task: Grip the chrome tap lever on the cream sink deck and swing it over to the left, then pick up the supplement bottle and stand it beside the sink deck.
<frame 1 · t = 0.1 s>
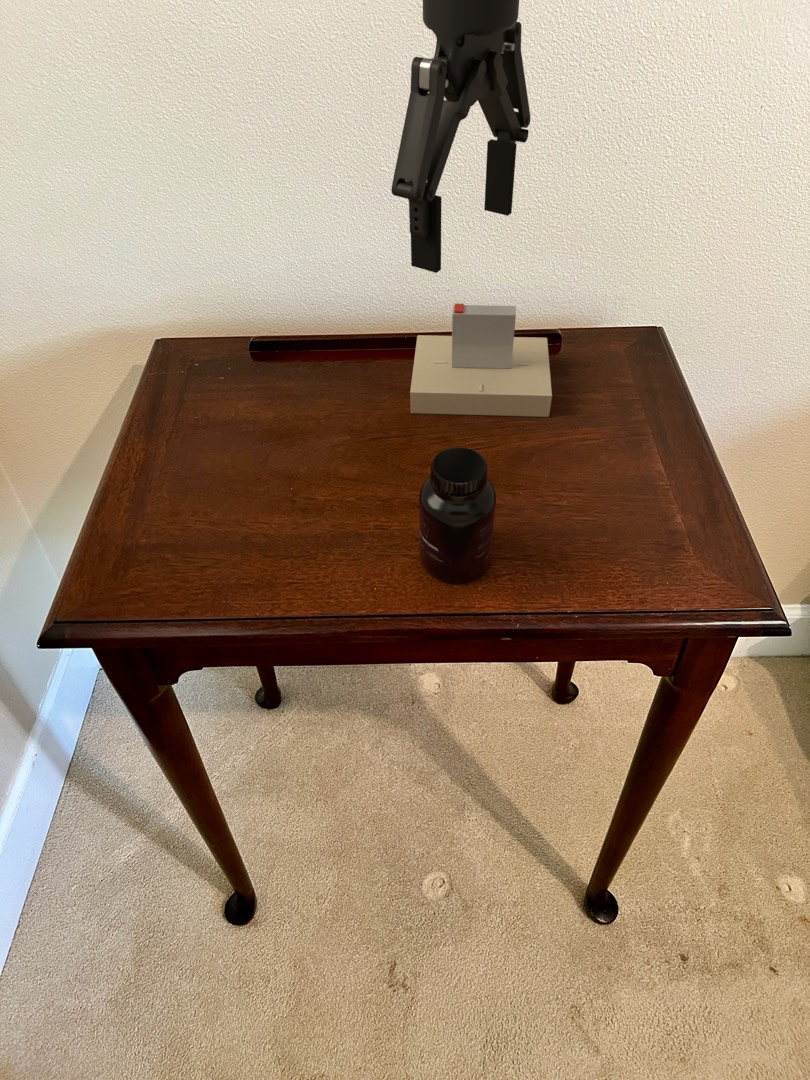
hand: (463, 238, 73), 21 cm above the table, tool pointing down, fingers open, 13 cm apart
supplement bottle: (455, 560, 73), on the table
tap lever: (482, 336, 87), point 7 cm above the table, hinge at 0.0°
sink deck: (480, 384, 92), on the table
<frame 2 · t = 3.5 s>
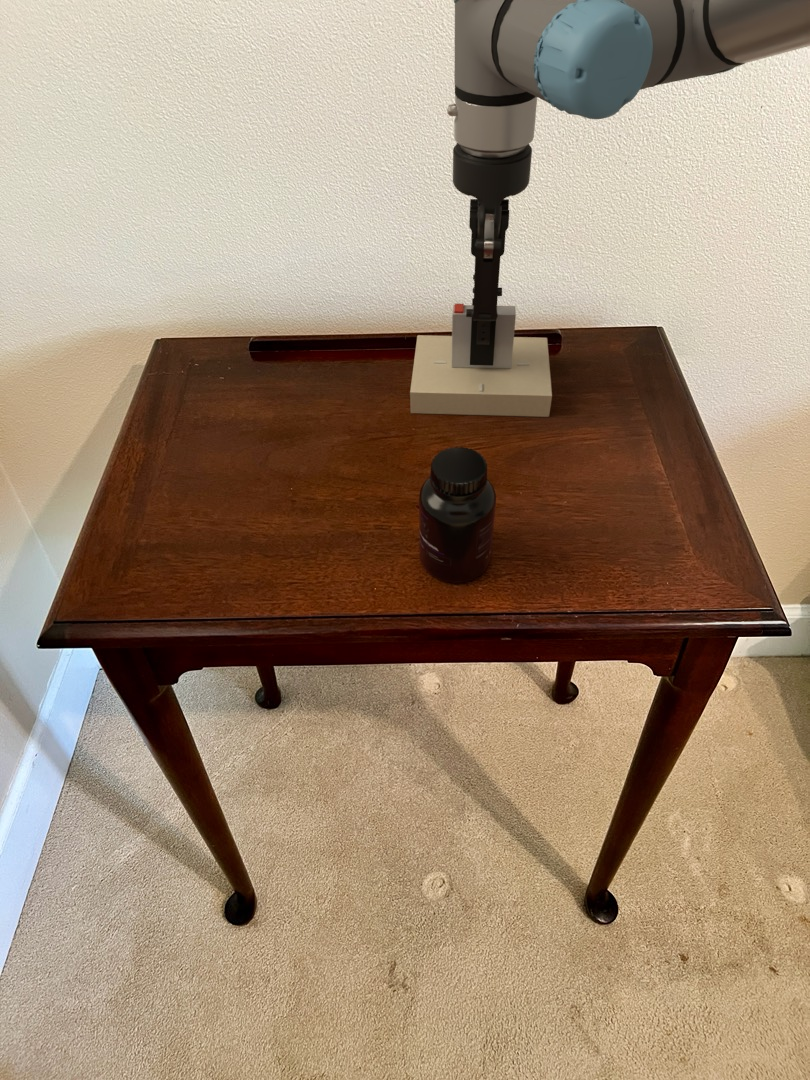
hand: (481, 356, 89), 4 cm above the table, tool pointing down, fingers closed on tap lever, 2 cm apart
tap lever: (482, 336, 87), point 7 cm above the table, hinge at 0.0°, touching gripper
everything else where it was.
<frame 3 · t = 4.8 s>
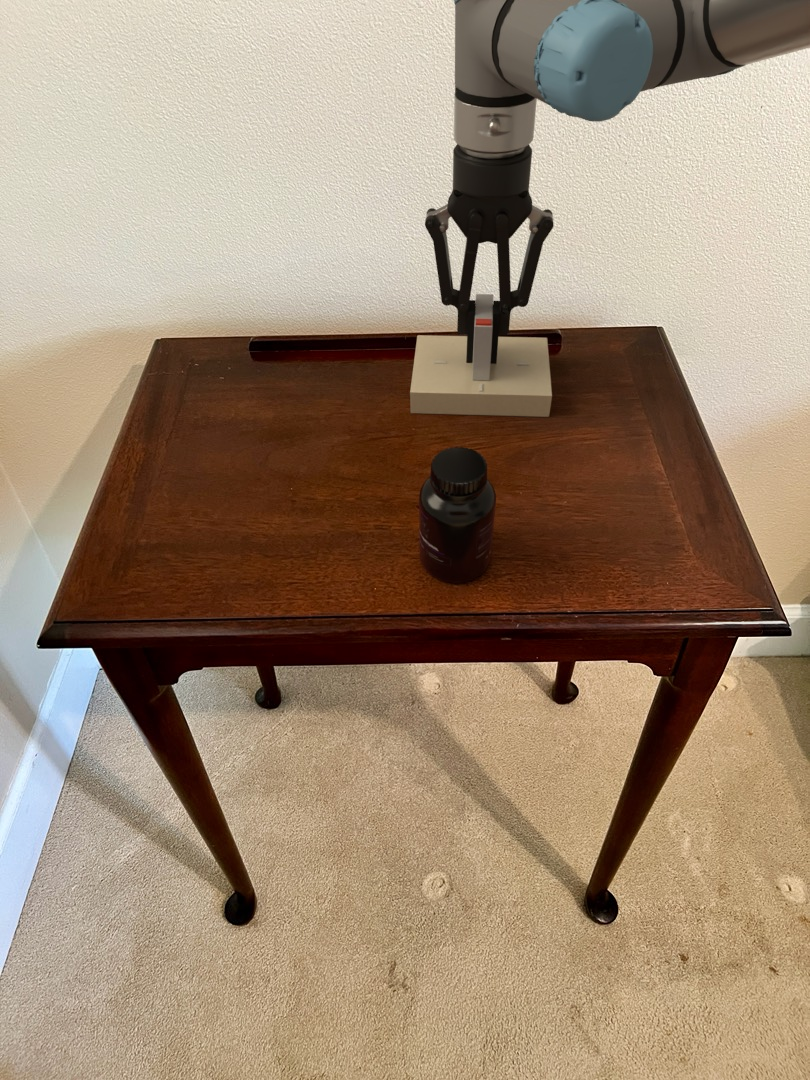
hand: (481, 356, 89), 4 cm above the table, tool pointing down, fingers open, 2 cm apart
tap lever: (482, 336, 87), point 7 cm above the table, hinge at 89.5°
everything else where it was.
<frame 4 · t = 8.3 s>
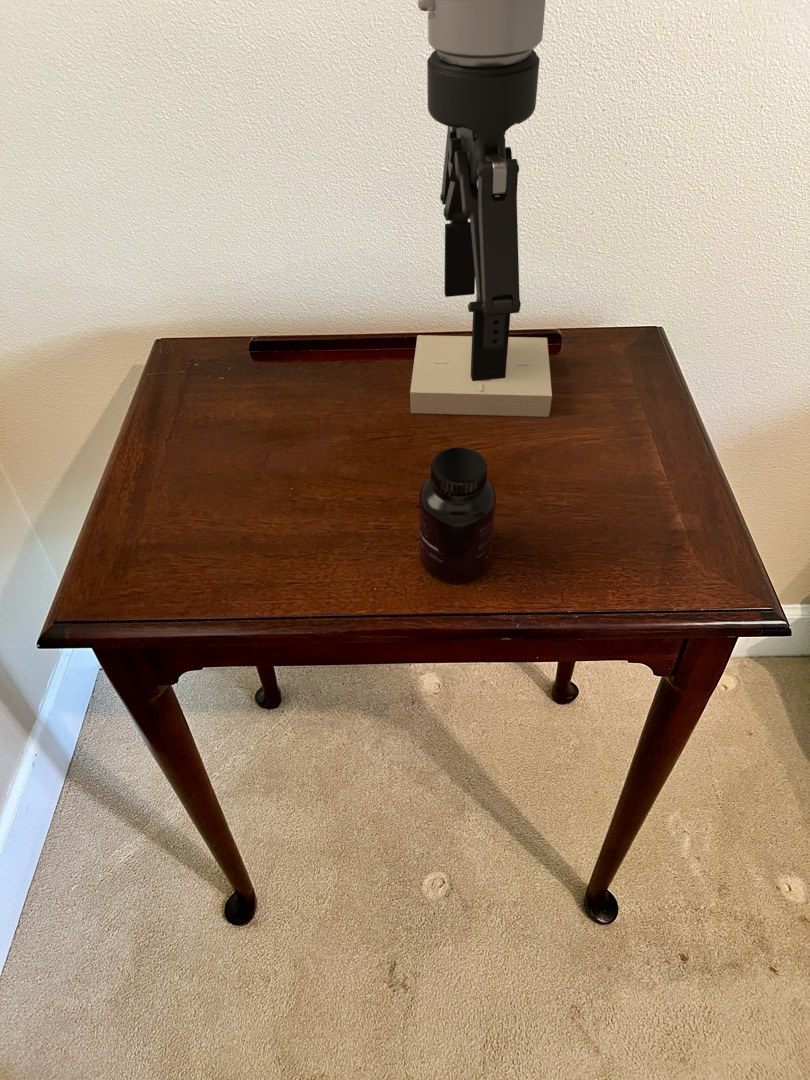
hand: (472, 332, 66), 18 cm above the table, tool pointing down, fingers open, 13 cm apart
nothing on the table moved.
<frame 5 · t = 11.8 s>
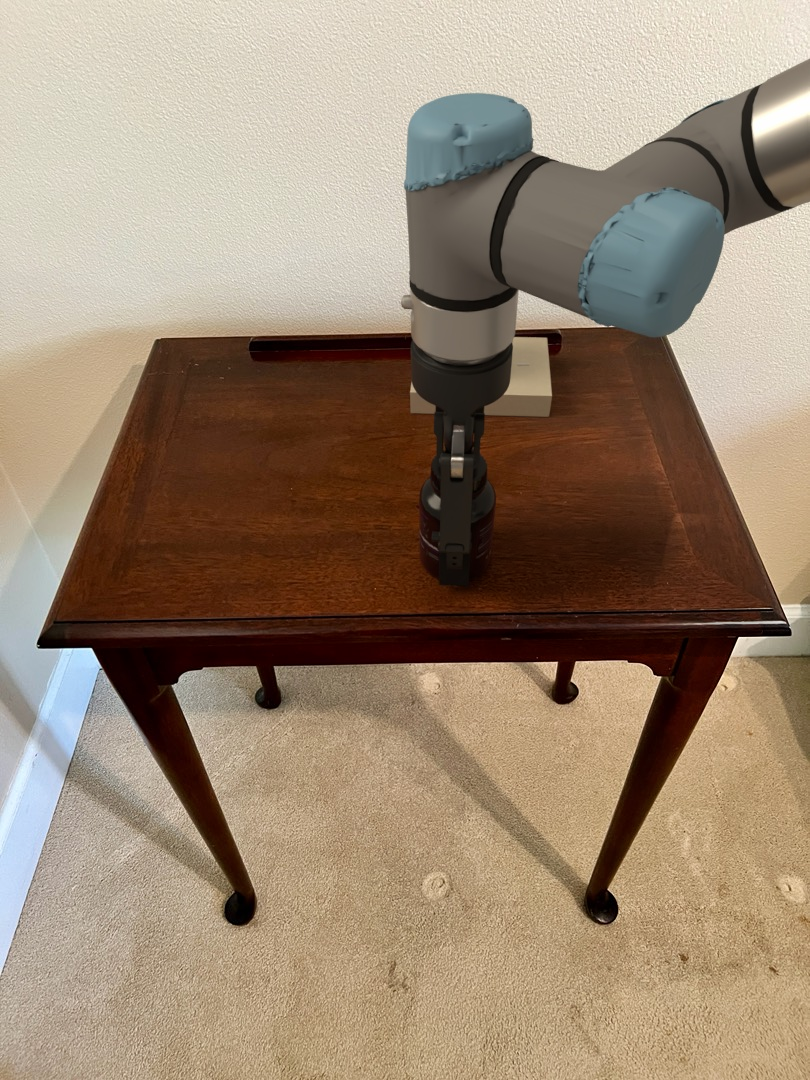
hand: (455, 551, 72), 1 cm above the table, tool pointing down, fingers closed on supplement bottle, 7 cm apart
supplement bottle: (455, 560, 73), on the table, touching gripper
everything else where it was.
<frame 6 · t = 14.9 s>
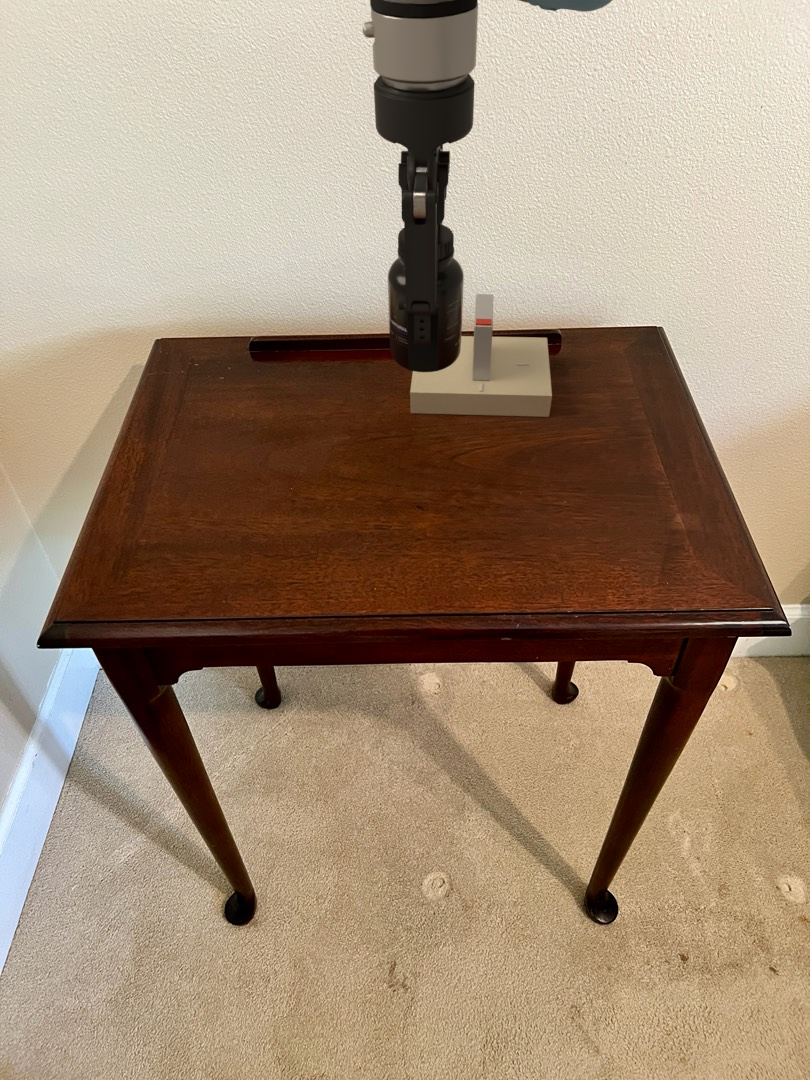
hand: (426, 345, 73), 14 cm above the table, tool pointing down, fingers closed on supplement bottle, 7 cm apart
supplement bottle: (425, 356, 74), point 13 cm above the table, touching gripper
everything else where it was.
when the fingers open (1 cm above the table, at t = 18.2 s): supplement bottle stays where it is, on the table.
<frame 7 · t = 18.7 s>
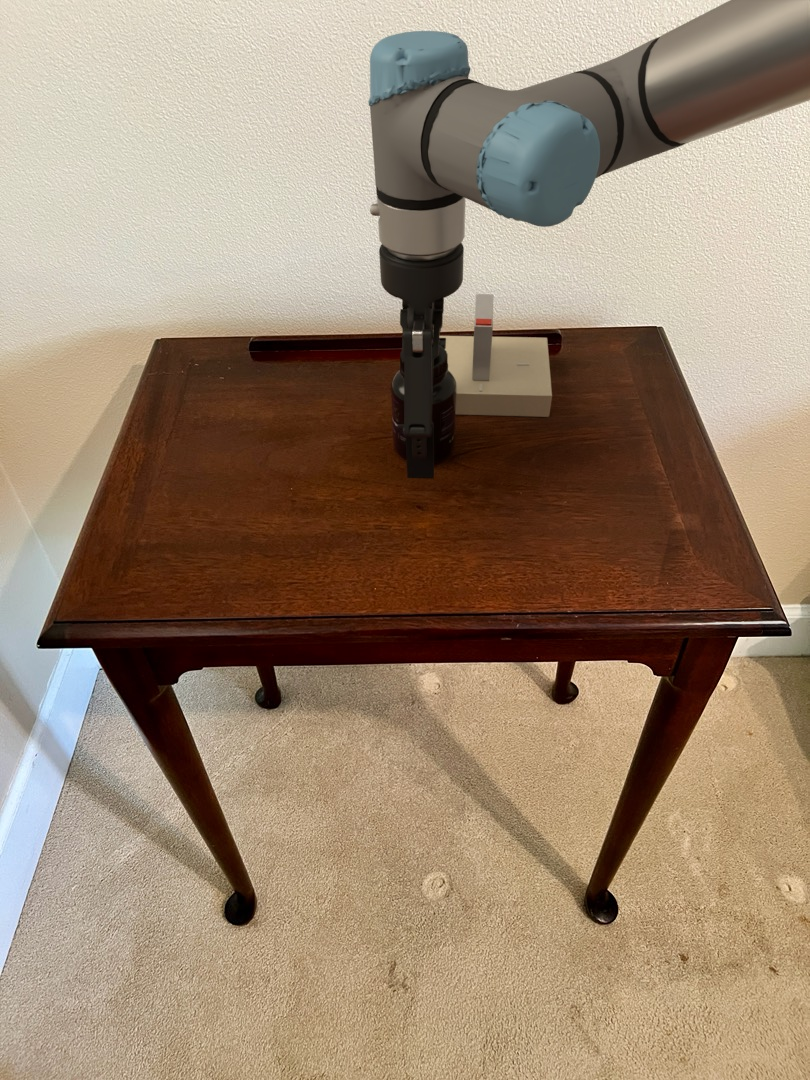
hand: (424, 437, 82), 2 cm above the table, tool pointing down, fingers open, 12 cm apart
supplement bottle: (424, 448, 85), on the table
everything else where it was.
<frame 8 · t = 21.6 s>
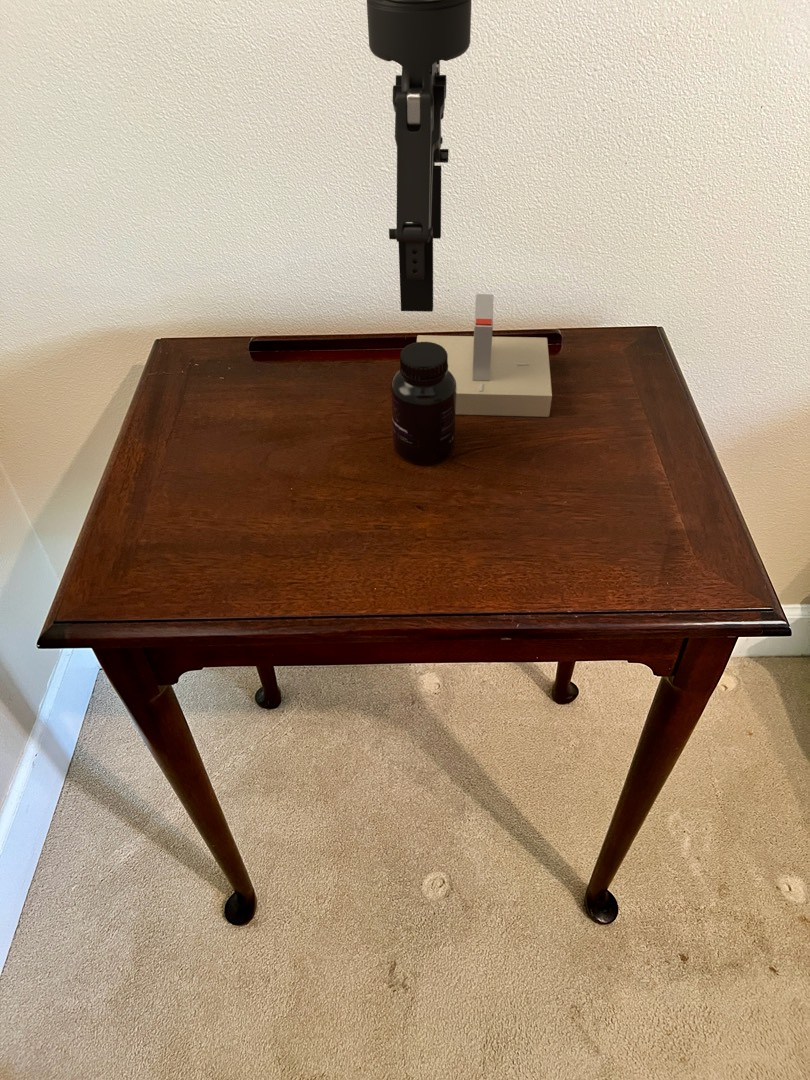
hand: (422, 271, 69), 21 cm above the table, tool pointing down, fingers open, 13 cm apart
nothing on the table moved.
at the end: tap lever at +90° (first picture: +0°); supplement bottle inside the target area on the table beside the sink deck (0.0 cm from its centre), on the table; supplement bottle tilted 0° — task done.
